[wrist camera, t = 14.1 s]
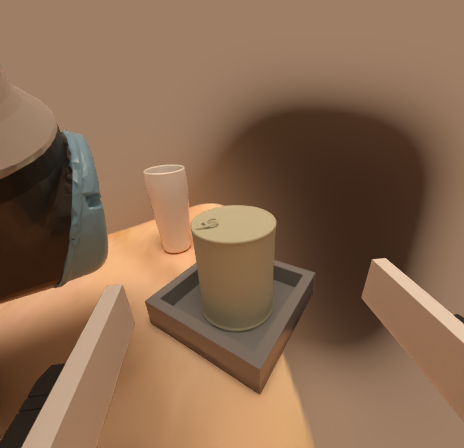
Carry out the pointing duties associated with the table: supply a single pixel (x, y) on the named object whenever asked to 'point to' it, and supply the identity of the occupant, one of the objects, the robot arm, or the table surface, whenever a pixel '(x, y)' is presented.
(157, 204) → the drinking glass
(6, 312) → the table surface
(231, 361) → the tray
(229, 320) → the can
